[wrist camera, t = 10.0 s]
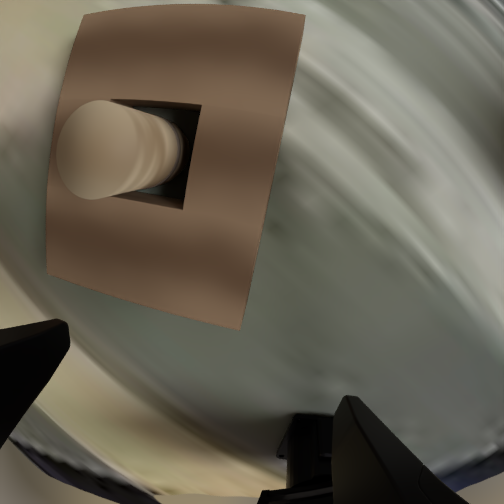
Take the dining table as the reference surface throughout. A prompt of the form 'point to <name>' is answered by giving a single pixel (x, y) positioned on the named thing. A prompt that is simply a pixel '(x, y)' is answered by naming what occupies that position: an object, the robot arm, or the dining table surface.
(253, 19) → the board
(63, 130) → the peg
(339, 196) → the dining table surface
